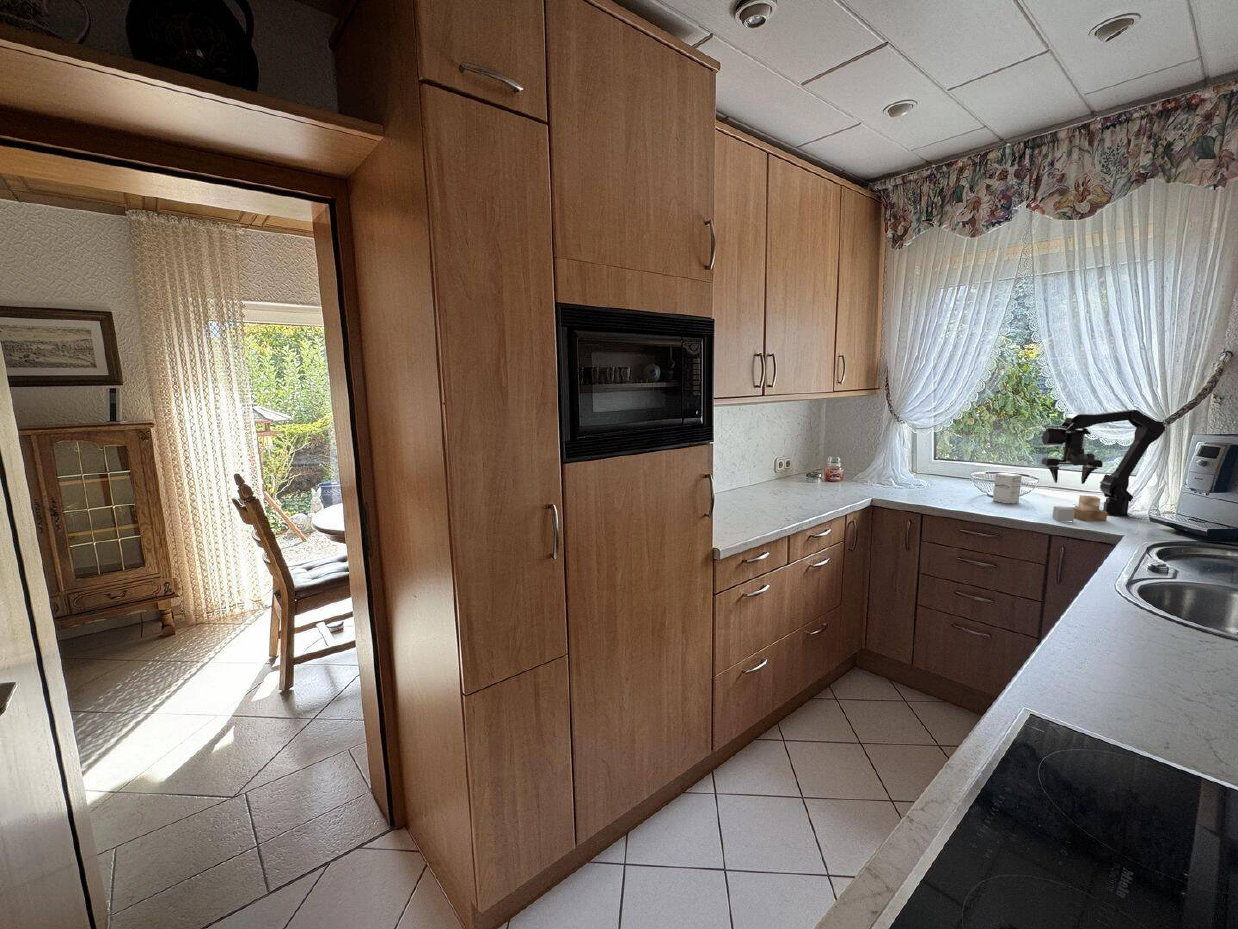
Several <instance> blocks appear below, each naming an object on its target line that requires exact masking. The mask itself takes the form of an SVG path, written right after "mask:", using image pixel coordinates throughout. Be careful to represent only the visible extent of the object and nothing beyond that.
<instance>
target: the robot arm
mask: <svg viewBox="0 0 1238 929" xmlns="http://www.w3.org/2000/svg"><path fill="white" fill-rule="evenodd" d="M1124 421H1125V422H1126V421H1128V423H1130V425H1132V426H1133V427H1135V430H1134V437H1133V438H1134V439H1133V441H1132V443H1131V445H1130V446H1129V448H1128V449H1127V451H1126V453H1125V454H1124V456H1123V458H1122V459H1121V461H1120V462H1119V464H1118V466H1117V467H1116V469H1115V471H1114V472H1113V473H1111V474H1105V475H1103V478H1102V480H1101V481H1099V484H1100V485H1099V489H1100V491H1101V492H1102V493H1103V496H1104V497H1105V501H1104V502H1103V509H1102V511H1106V512H1108V513H1107V516H1118V517H1119V516H1120V517H1130V514H1128V510H1129V504H1130V502H1132V500H1133V499H1134V496H1133V495H1132V494H1131V493H1130V492H1129V491H1128V488H1129V486H1130V484H1129V483H1130V476H1131V475H1132V474H1133V472H1134V470H1135V468H1136V466H1138V464H1139V462H1140V460H1141V459H1142V457H1143V455H1144V454H1145V453H1146V452H1147V450H1148V448H1149V446H1150V445H1151V444H1152V443H1154V442H1155V441H1157V440H1158V439H1159V438H1160V437H1161V436H1163V434H1164V433H1165V431H1166V426H1165V424H1164V422H1162V421H1158V420H1155V419H1153V418H1152V417H1150V416H1148V415H1146V414H1145V413H1142V412H1141V411H1140V410H1138V409H1132V408H1131V409H1130V408H1128V409H1125V410H1119V411H1109V412H1102V413H1101V412H1100V413H1094V414H1093V413H1070V414H1067V416H1066V417H1065V419H1064V421H1063V422H1062V423H1061V424H1060V425H1059V426H1058V427H1057V428H1051V427H1045V430H1044V432H1043V433H1042V435H1041V442H1042V445H1048V446H1049V445H1050V446H1051V445H1056V446H1057V445H1058V446H1062V445H1064V446H1062V450H1063V456H1061V459H1059V458H1056V457H1051V456H1050V457H1047V456H1046V457H1043V458H1042V459H1041V465H1044V466H1045V467H1047V468H1048V469H1049V471H1050V473H1051V477H1052V478H1053V481H1054V483H1055V484H1058V479H1059V477H1058V475H1059V469H1060V466H1059V465H1073V466H1074V467H1075V466H1076V467H1077V466H1082V468H1081V478H1080V481H1081V484H1082V485H1084V484H1085V483H1086V481H1087V480H1088V477H1089V476H1090V475H1091V473H1092V472H1094V471H1095V470H1098V469H1099V468H1103V464H1104V463H1103V461H1102V460H1101V459H1097V458H1096V457H1095V453H1093V452H1091V453H1090V452H1089V453H1085V449H1084V448H1083V447H1084V438H1085V435H1091V434H1092V433H1091V432H1090V431H1089V430H1088V429H1087V428H1090V427H1092V426H1094V425H1095V426H1096V425H1099V424H1107V423H1114V422H1115V423H1116V422H1117V423H1118V422H1124Z"/></svg>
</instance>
